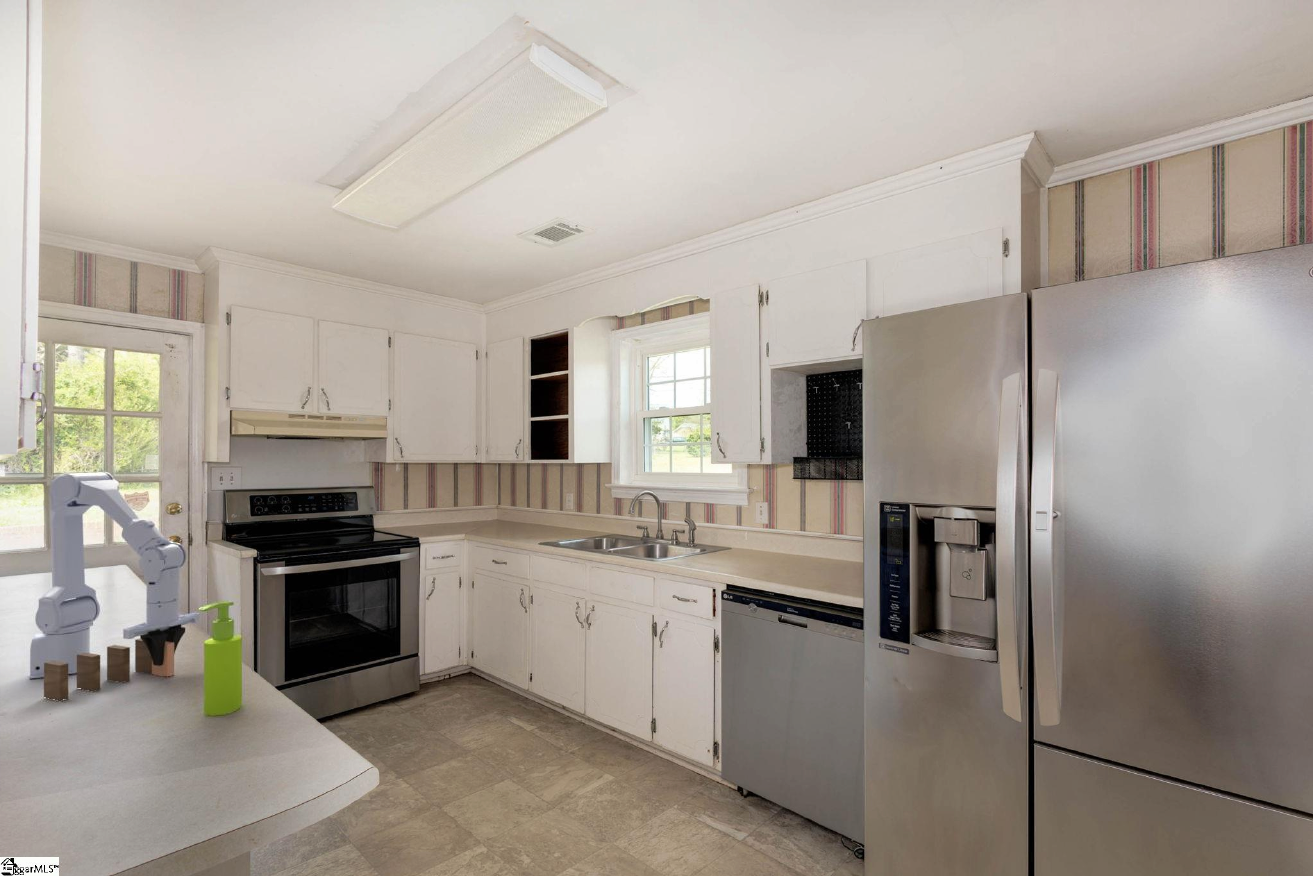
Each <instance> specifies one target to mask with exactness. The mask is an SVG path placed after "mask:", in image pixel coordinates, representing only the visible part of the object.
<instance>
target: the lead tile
mask: <svg viewBox="0 0 1313 876" xmlns="http://www.w3.org/2000/svg"><path fill="white" fill-rule="evenodd" d="M152 674H154V675H153V676H157V675H158V676H159V677H163V676H167V677H166V678H169V677H168V676H170V677H172V675H173V676H175V654H174V642H167V641H165V646H164V661H163V665H161V666H157V665H153V661H152ZM152 674H151V675H152ZM158 676H157V677H158Z"/></svg>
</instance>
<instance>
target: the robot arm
mask: <svg viewBox="0 0 1313 876" xmlns="http://www.w3.org/2000/svg"><path fill="white" fill-rule="evenodd" d="M48 487H49V519H50V520H49V522H50V523H49V524H50V528H49V529H50V550H51V551H50V552H51V555H50V556H51V576H52V577H51V583H52V585H51V586H52V587H51V588H50V589H49V590H48V591H47V592H46V593H45V594H43V595H42V596H41V597H40V598H39V599H38V608H37V611H36V613H35V619H34V620H35V624H36V627H37V628H38V629H39V630H40V631H41V632H39V633H36V634H34V636H33V637H32V640H31V643H30V649H29V652H30V653H29V655H30V657H29V658H30V659H29V660H30V661H29V662H30V663H29V665H30V667H29V675H28V679H29V678H31V679H39V678H44V663H45V662H49V661H58V662H64V663H68V675H71V674H77V654H81V653H90V652H91V649H90V648H91V646H90V645H91V643H90V642H91V641H90V638H91V635H90V634H91V632H90V631H91V629H90V627H93V626H94V622H95V621H96V620H97V619H98V618H99V615H100V613H101V607H100V603H99V601H98V598H97V590H96V589H94V588H93V587H91V586H89V585H88V584H86V583H85V582H86V580H85V578H86V577H85V576H86V575H85V549H84V547H85V545H84V516H83V515H84V514H85V513H86V512H87V511H89V510H90V508H92V507H94V506H97V507H99V508H100V509H101V510H102V511H103V512H104V513H106V515H108V516H109V517H110V518H111V519H112V520H113V522H115V523H116V524H117V525H119V527H120V528H122V531H121V537H122V539H123V540H124V541H125V542H126V543H127V544H128V545H129V547H130V548H132V550H133V551H134V552H135V554H137V555H138V556H139V558H140V559H138V565H139V568H140V569H141V571H142V572H143V579H144V581H145V582H146V619H145V622H142V623H140V624H136V625H133V626H131V627H127V628H124V629H122V630H123V631H122V635H123V636H122V638H123V639H125V640H133V639H135V638H137V637H139V639H140V638H141V639H142V640H143V642H144V643H145V645H146V646H147V648H148V650H149V652H150V655H151V658H152V661H153V665H157V666H161V665H163V661H164V646H165V641H167V642H174V655H175V654H176V652H177V648H178V645H179V643H180V641H181V639H182V637H183V636H184V635H185V633H186V627H184V626H185V625H189V624H193V623H194V624H195V623H199V622H200V613H199V612H191V613H185V614H180V568H181V567H183V566H184V564H185V563H186V560H187V553H186V550H185V548H184V546H183V545H182V544H181V543H179V542H176V541H175V542H173V541H172V540H171V539H168V538H167V537H165V535H164V534H163V533H161V531H160V530H159V529H158V527H156V526H155V525H156V524H155V523H154V521H152V520H149V519H147V518H140V517H139V515H137V514H136V512H135V511H134V510H133V508H132V507H131V505H130V504H129V503H128V502H127V500H126V499H125V497H124V496H123V495H122V494H121V492H120V482H119V481H117V480H116V479H115V477H114V476H113V475H112V474H111V473H110V472H107V471H99V472H80V473H71V472H70V473H69V472H63V473H61V474H59V475H57V476H56V477H55V478H54V479H52V481H51V482H49V486H48Z"/></svg>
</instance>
